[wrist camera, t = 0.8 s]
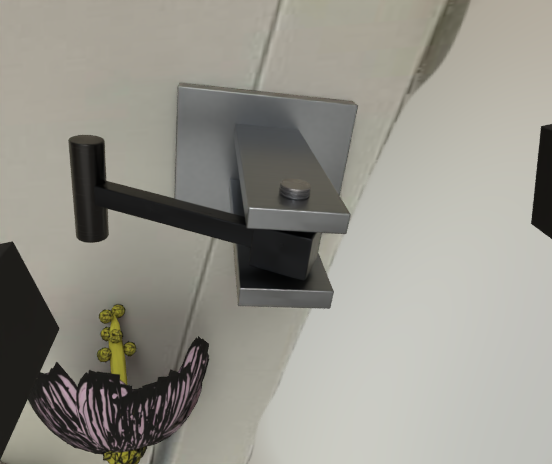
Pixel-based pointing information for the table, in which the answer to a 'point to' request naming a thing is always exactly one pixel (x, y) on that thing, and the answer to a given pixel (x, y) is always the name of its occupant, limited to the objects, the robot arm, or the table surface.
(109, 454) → the decorative flower
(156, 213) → the lever
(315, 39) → the table surface
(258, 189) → the bracket
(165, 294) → the table surface
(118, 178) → the table surface
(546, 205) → the robot arm
